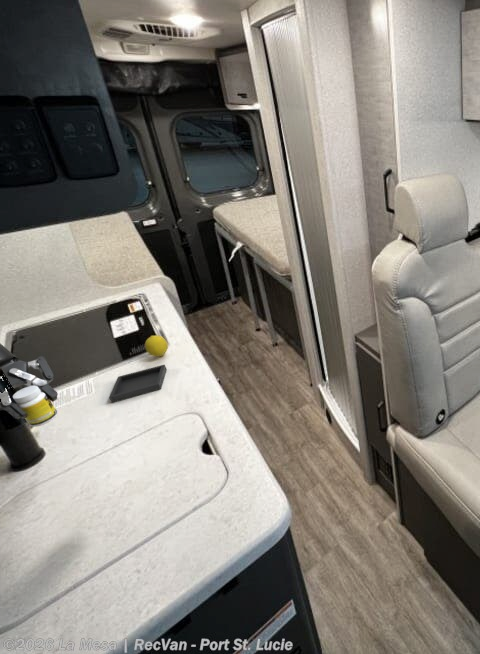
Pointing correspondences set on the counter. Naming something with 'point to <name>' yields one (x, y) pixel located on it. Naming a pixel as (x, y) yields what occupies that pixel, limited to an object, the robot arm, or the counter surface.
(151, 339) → the lemon
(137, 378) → the dock pad
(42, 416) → the supplement bottle
